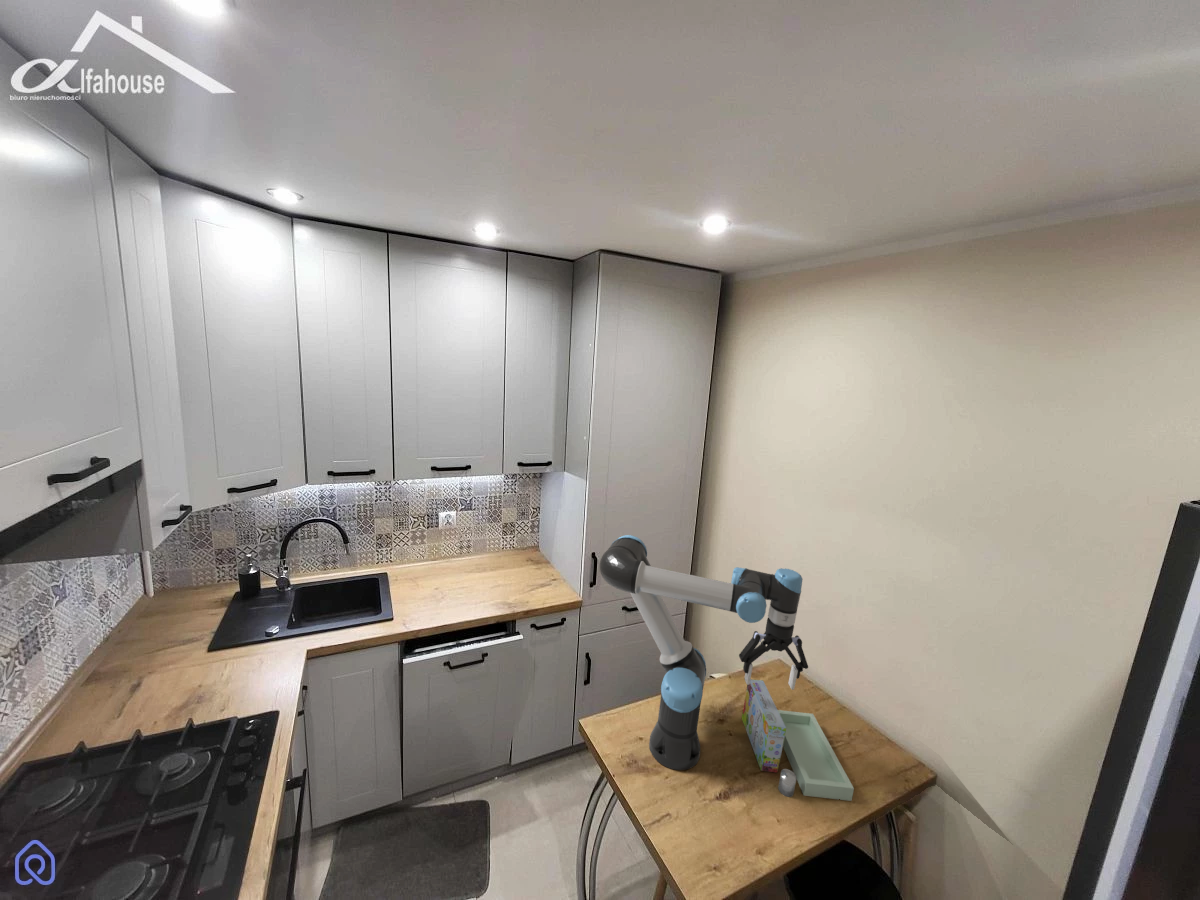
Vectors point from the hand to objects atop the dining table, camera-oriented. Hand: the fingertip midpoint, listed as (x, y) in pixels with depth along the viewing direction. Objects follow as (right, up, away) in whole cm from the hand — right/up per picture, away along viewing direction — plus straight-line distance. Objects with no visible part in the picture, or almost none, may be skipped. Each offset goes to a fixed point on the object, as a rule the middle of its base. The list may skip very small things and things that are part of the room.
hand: (768, 684), depth 142 cm
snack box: (-2, -20, +3) cm, 21 cm away
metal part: (0, -23, -13) cm, 26 cm away
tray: (+12, -22, 0) cm, 25 cm away
